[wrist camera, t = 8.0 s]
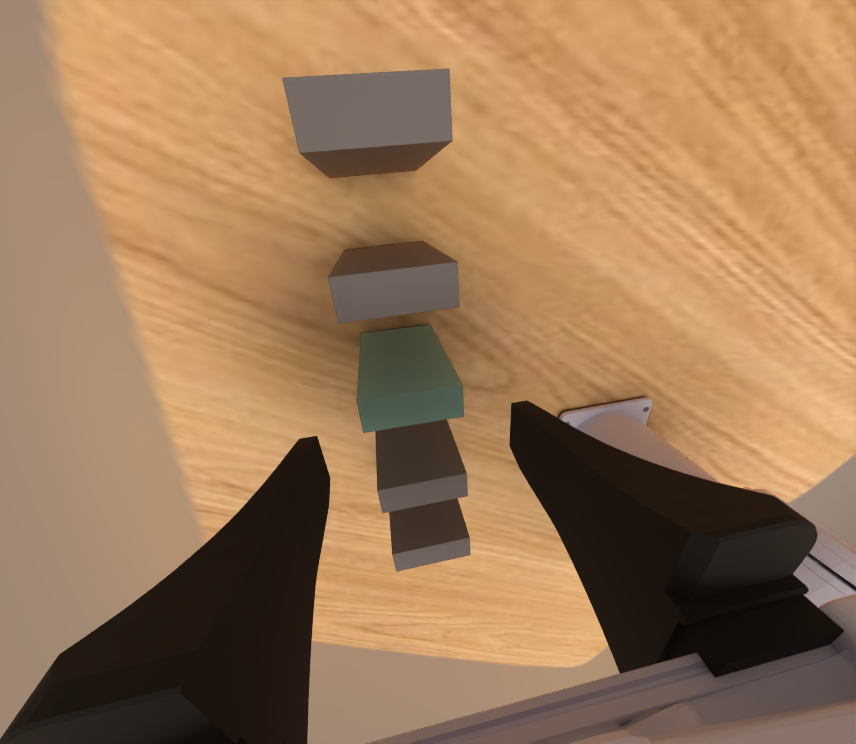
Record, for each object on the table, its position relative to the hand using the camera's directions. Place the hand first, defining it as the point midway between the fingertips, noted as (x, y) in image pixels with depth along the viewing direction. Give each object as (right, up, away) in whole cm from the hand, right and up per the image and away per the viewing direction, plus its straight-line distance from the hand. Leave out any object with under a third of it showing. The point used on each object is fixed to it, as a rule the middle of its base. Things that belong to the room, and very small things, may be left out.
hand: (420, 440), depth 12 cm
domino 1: (-3, +13, +4) cm, 14 cm away
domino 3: (-1, 0, +11) cm, 11 cm away
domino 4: (-1, -4, +13) cm, 14 cm away
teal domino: (-2, +5, +9) cm, 10 cm away
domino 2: (-2, +9, +6) cm, 11 cm away
